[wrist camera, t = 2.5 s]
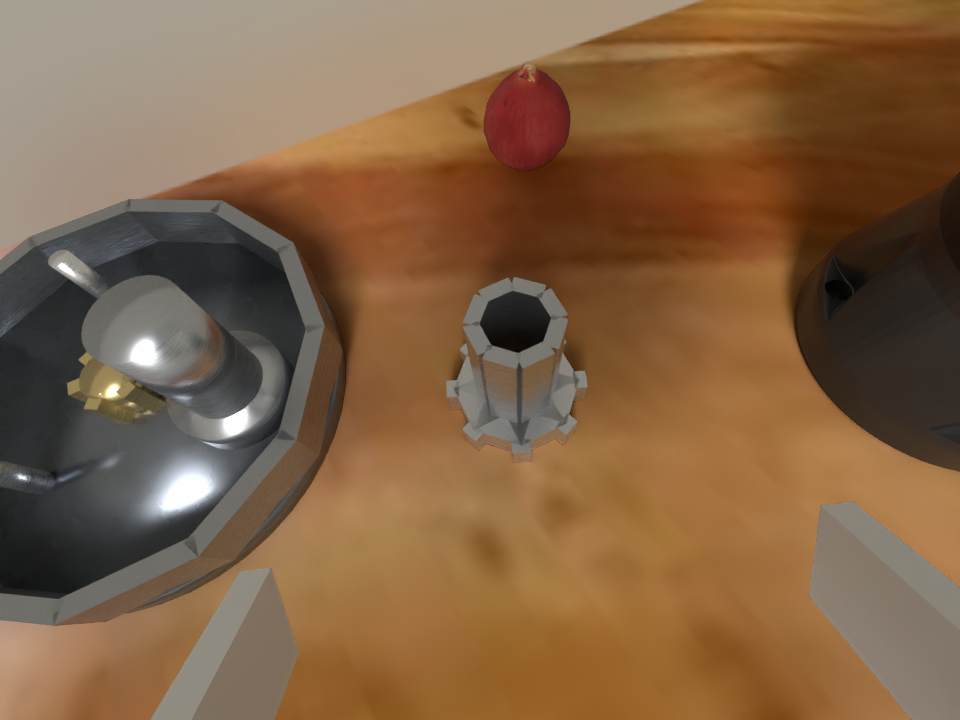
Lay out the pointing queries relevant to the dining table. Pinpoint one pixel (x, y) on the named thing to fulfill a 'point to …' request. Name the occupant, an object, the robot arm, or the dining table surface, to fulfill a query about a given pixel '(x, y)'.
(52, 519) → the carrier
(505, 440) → the planet gear
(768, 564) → the dining table surface
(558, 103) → the onion
